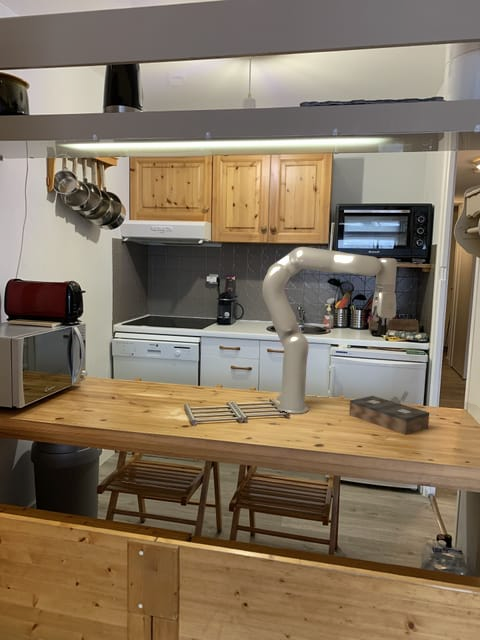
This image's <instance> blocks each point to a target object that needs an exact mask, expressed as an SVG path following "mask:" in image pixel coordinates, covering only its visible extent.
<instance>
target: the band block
mask: <svg viewBox="0 0 480 640" xmlns="http://www.w3.org/2000/svg"><path fill="white" fill-rule="evenodd" d="M370 400H375V401H378V402H381V403H377V404H373V403H370V402H366V401H370ZM401 409H404V410H408V411H411V413H407V414H405V413H402V412H399V411H397V410H401ZM348 416H351V417H353V418H357V419H360V420H361V421H366V422H367V423H371V424H374V425H377V426H379V427H381V428H385V429H387V430H390V431H393V432H396V433H398V434H399V433H400V434H401V435H405V436H406V435H410V434H413V433H417V432H420V431H423V430H427V429H429V424H430V412H429V411H425V410H422V409H419V408H415V407H411V406H408V405H406V404H401V403H400V404H399V403H395V402H392V401H390V399H384V398H381V397H378V396H374V395H370V396H365V397H361V398H356V399H350V400H349V413H348Z"/></svg>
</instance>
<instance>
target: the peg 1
mask: <svg viewBox="0 0 480 640" xmlns="http://www.w3.org/2000/svg"><path fill="white" fill-rule="evenodd" d="M366 402H370V403H373V404H377V403H381V402H378V401H375V400H370V401H366Z"/></svg>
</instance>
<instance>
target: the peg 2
mask: <svg viewBox="0 0 480 640" xmlns="http://www.w3.org/2000/svg"><path fill="white" fill-rule="evenodd" d="M397 411H399V412H402V413H405V414H407V413H411V411H408V410H404V409H401V410H397Z"/></svg>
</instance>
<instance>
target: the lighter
mask: <svg viewBox="0 0 480 640" xmlns="http://www.w3.org/2000/svg"><path fill="white" fill-rule="evenodd" d="M409 393H410V392H408V390H407V391H406V390H405V391H404V392H403V394H402V395H401V397H400V398H399V396H392V397H391V398H389V401H392V402H395V403H399V404H401V403H402V402H405V400H406V399H407V397H408V395H409ZM401 401H402V402H401Z"/></svg>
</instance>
